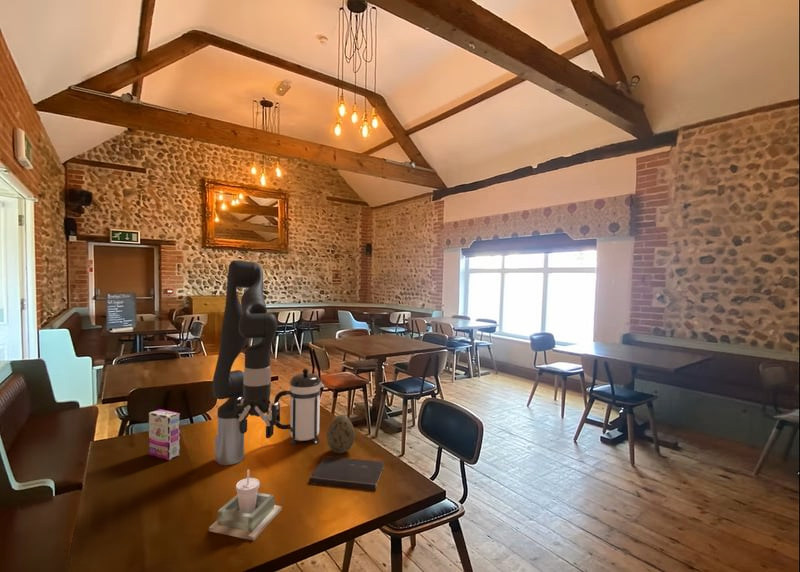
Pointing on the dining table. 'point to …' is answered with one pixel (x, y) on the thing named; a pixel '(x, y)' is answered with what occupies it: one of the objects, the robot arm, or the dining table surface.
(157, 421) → the candy bar box
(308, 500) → the dining table surface
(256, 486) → the smoothie
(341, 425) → the decorative egg
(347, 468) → the hardcover book
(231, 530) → the green glass shallow box
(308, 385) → the coffee press
